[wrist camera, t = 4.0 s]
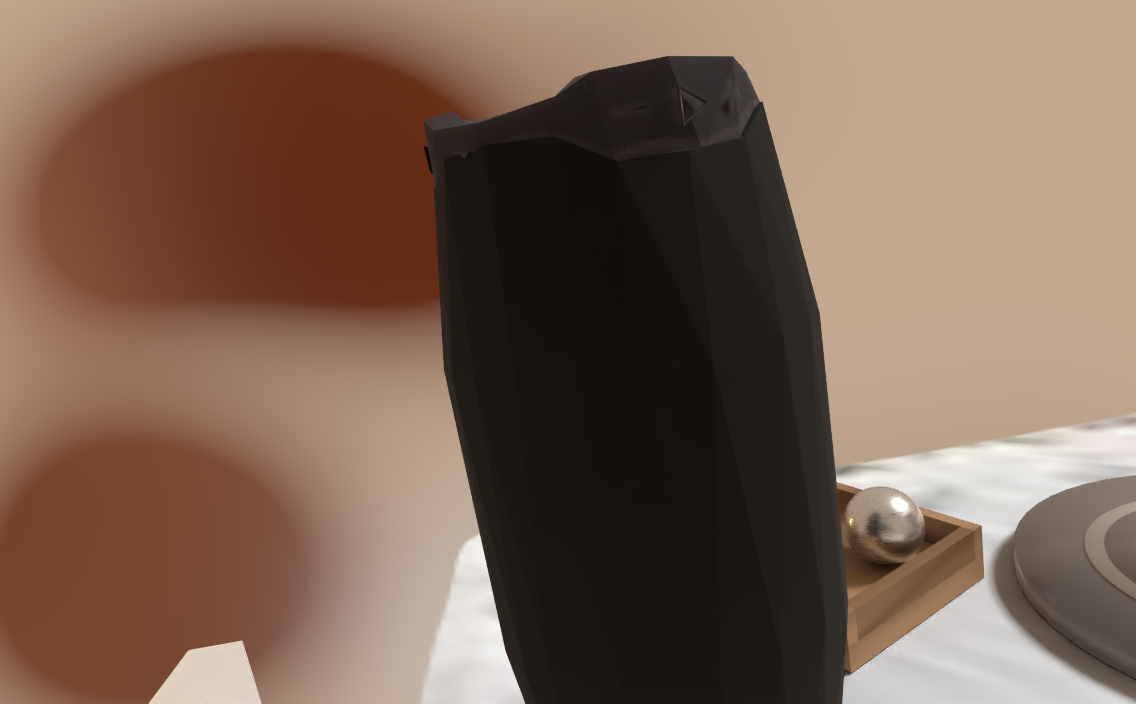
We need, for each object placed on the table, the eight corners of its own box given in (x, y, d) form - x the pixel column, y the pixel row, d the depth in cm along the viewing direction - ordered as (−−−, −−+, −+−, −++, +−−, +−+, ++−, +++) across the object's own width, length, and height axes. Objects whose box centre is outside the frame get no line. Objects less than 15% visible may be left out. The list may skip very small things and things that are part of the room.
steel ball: (944, 557, 29) (939, 486, 28) (896, 589, 28) (890, 515, 27) (876, 533, 32) (871, 468, 31) (830, 561, 30) (823, 493, 30)
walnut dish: (984, 577, 29) (981, 525, 29) (851, 673, 25) (845, 616, 25) (818, 517, 36) (813, 475, 35) (693, 586, 32) (686, 539, 31)
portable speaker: (908, 929, 17) (828, 15, 13) (511, 930, 19) (315, 120, 14) (831, 677, 25) (766, 72, 21) (560, 693, 27) (446, 134, 22)
